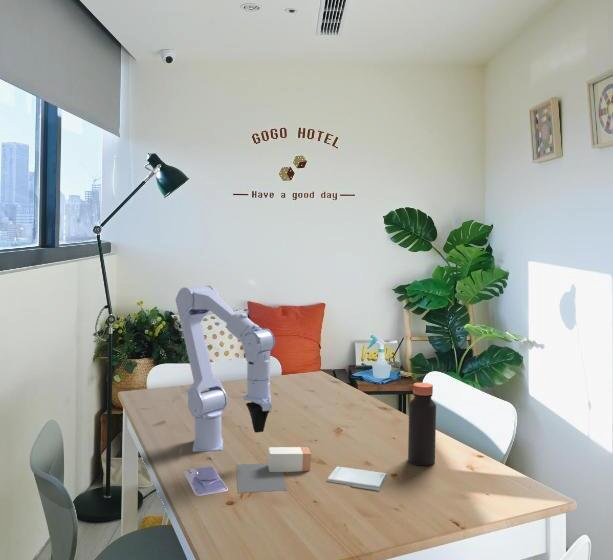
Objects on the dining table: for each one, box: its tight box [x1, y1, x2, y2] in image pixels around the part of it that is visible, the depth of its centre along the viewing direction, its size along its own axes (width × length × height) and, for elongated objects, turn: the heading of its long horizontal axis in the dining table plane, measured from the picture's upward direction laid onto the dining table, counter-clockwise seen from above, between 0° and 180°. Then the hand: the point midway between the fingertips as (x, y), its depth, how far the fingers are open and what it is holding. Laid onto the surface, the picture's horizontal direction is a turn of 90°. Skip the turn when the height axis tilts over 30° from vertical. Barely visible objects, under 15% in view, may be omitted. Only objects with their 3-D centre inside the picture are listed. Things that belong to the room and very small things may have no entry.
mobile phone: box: [183, 466, 229, 496], centre depth 131 cm, size 8×1×15 cm
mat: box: [236, 462, 288, 494], centre depth 133 cm, size 16×11×1 cm
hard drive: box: [326, 466, 388, 492], centre depth 132 cm, size 2×8×12 cm
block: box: [267, 446, 312, 473], centre depth 138 cm, size 4×4×10 cm
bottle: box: [407, 382, 437, 467], centre depth 143 cm, size 7×7×20 cm
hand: (258, 431), depth 141 cm, fingers closed
